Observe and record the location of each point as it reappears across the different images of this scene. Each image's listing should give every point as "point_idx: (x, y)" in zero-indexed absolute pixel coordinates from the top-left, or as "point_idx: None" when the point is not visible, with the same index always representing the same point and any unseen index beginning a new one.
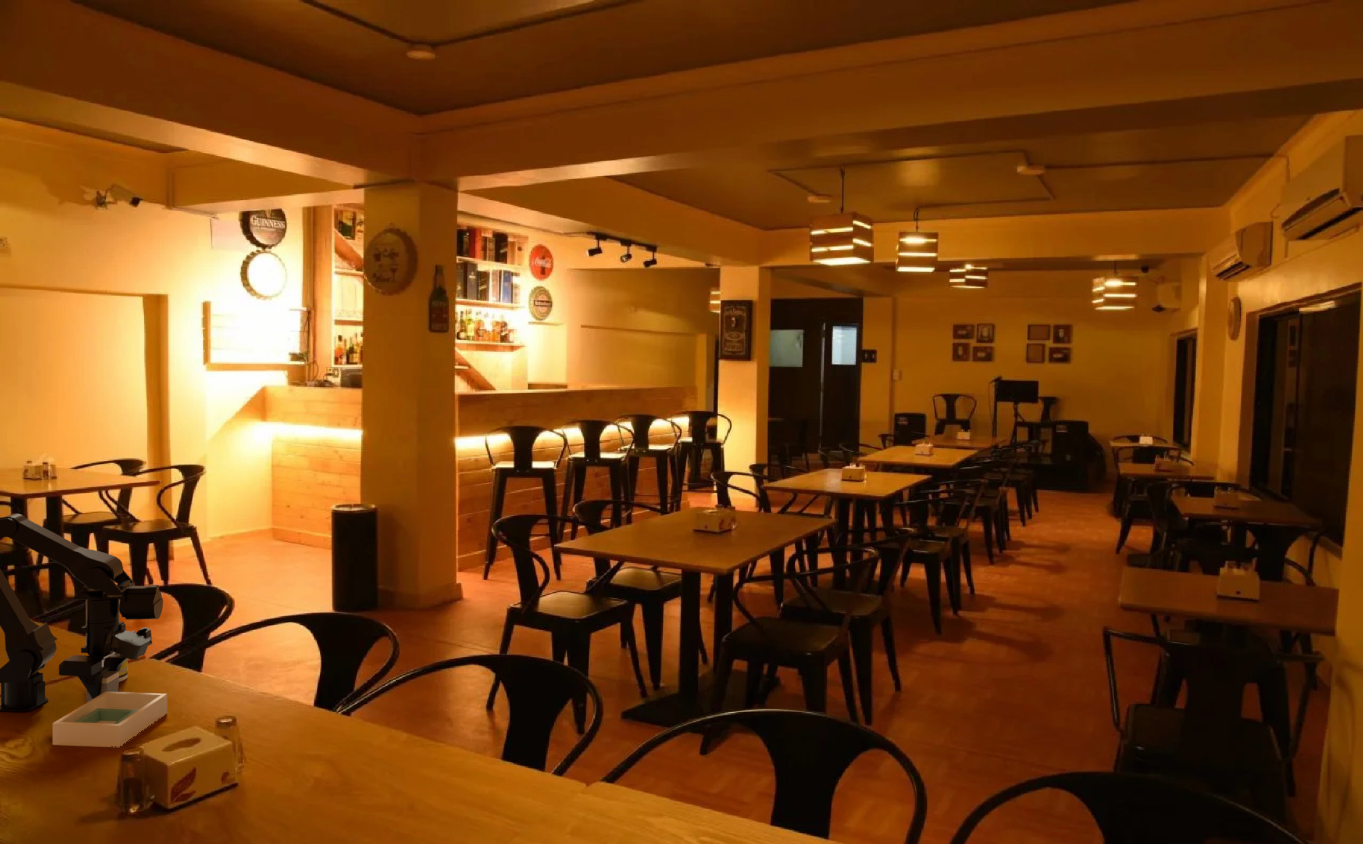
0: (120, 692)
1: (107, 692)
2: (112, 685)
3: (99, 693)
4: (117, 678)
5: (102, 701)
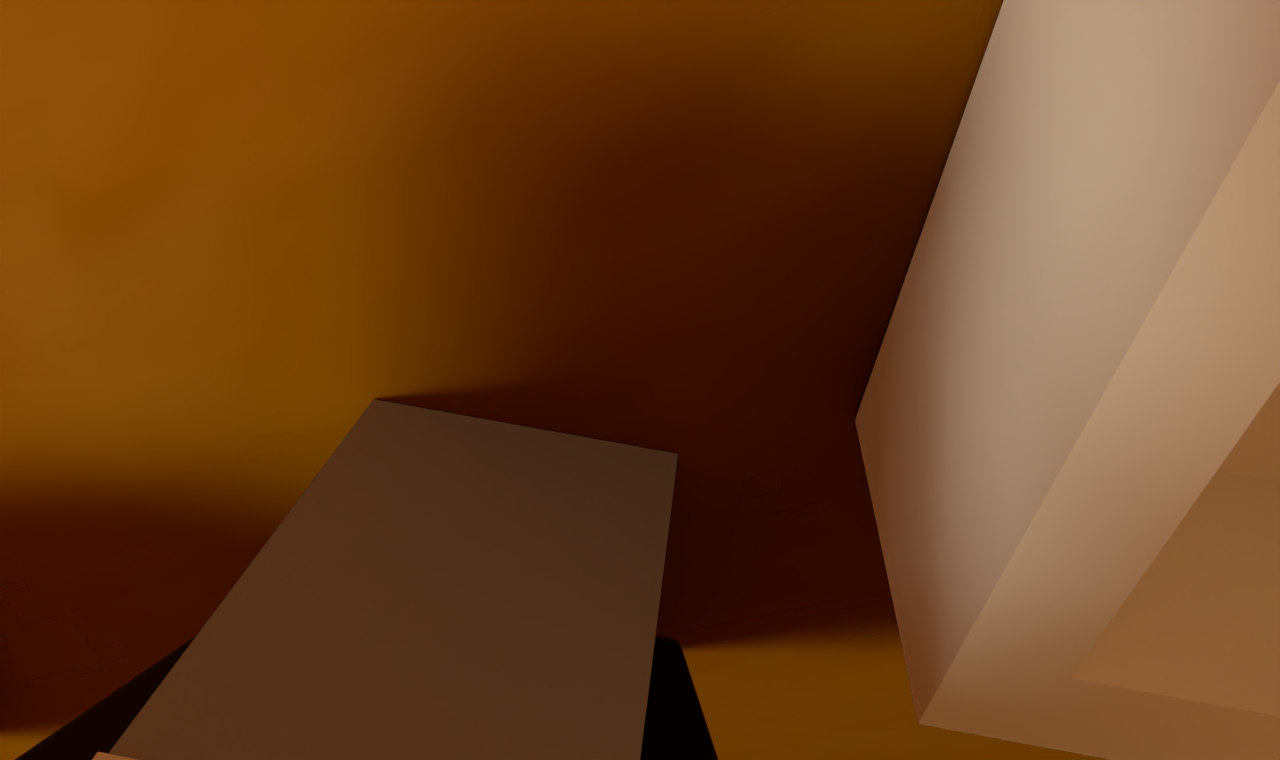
0: (1143, 410)
1: (1015, 688)
2: (424, 682)
3: (676, 725)
4: (177, 735)
5: (1233, 603)
